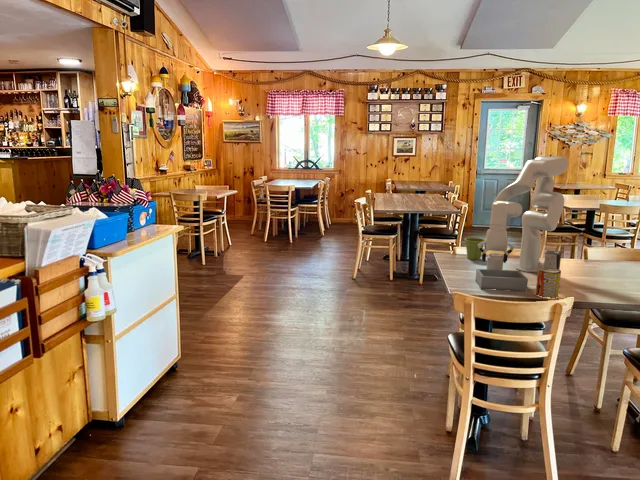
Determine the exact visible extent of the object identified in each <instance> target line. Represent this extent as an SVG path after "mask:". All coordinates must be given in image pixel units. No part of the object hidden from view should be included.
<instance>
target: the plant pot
mask: <svg viewBox="0 0 640 480" xmlns="http://www.w3.org/2000/svg"><path fill="white" fill-rule="evenodd" d="M463 240H464V241H465V247H466V257H467V259H469V260H473V261H474V260H477V261H478V260H481V259H482V252H481V251H480V249H479V247H478V244H479V243H481V242H484V241H485V238H480V237H479V238H478V237H465V238H464V239H463ZM481 247H482V249H484V245H482V246H481Z"/></svg>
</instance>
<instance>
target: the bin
mask: <svg viewBox="0 0 640 480" xmlns="http://www.w3.org/2000/svg"><path fill="white" fill-rule="evenodd" d="M475 270H476V271H475V282H476V284H477V285H479V286H478V287H479V289H480V288H481V289H480V290H483V289H496V290H495V291H503V290H510V291H509V292H522V291H527V290H528V283H529V278H527V276H526V275H524V274H523V273H522V271H521V270H513V269H512V270H511V269H509V270H508V269H503V270H491V269H487V268H476V269H475Z"/></svg>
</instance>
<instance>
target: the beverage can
mask: <svg viewBox="0 0 640 480" xmlns="http://www.w3.org/2000/svg"><path fill="white" fill-rule="evenodd" d="M536 275H537V277H536V286H535V287H536V288H535V294H536V295H539V296H542V297H550V298H556V297H558V298H559V290H560V284H561V275H562V270H561V269H555V268H549V267H540V268H538V272H537V274H536ZM536 295H535V296H536Z"/></svg>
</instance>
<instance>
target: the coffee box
mask: <svg viewBox="0 0 640 480" xmlns="http://www.w3.org/2000/svg"><path fill="white" fill-rule="evenodd" d="M561 260H562V250H552V249H551V250H550V249H547V250H546V251H545V253H544V262H543V263H544V267H549V268H555V269H559V270H561V268H560V267H561Z"/></svg>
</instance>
